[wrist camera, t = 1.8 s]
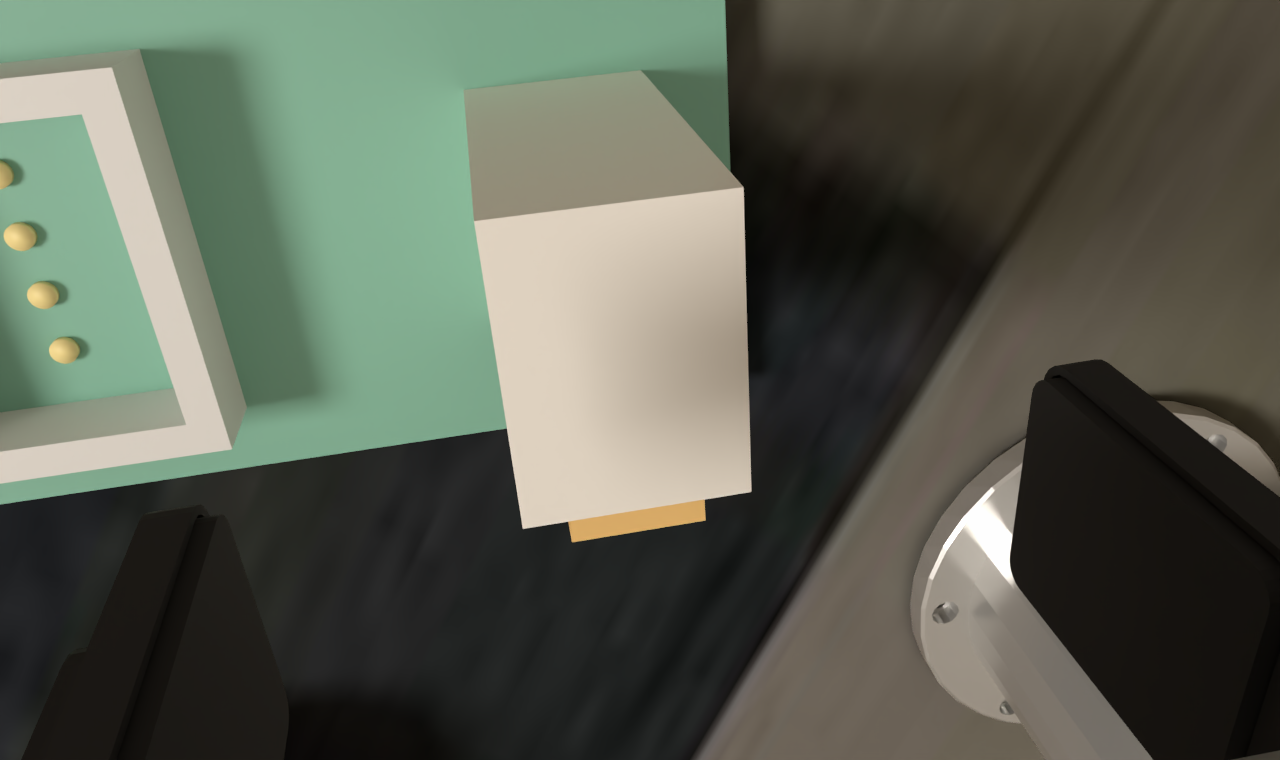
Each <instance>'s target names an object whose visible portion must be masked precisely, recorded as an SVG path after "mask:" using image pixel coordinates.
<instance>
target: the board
mask: <svg viewBox="0 0 1280 760" xmlns="http://www.w3.org/2000/svg"><path fill="white" fill-rule="evenodd" d="M638 70H641V71H642V72H643V73H644V74H645V75H646V77H647V78H648V79H649V80H650V81H651V82H652V83H653V85H654V86H655V87H656V88H657V89H658V90H659V91H660V93H661V94H662V95H663V96H664V97H665V98H666V99H667V100H668V102H669V103H670V104H671V105H672V106H673V107H674V108H675V110H676V111H677V112H678V113H679V114H680V115H681V116H682V118H683V119H684V120H685V121H686V122H687V123H688V124H689V126H690V127H691V128H692V129H693V130H694V131H695V132H696V133H697V135H698V136H699V137H700V138H701V139H702V140H703V141H704V143H705V144H706V145H707V146H708V147H709V148H710V149H711V151H712V152H713V153H714V154H715V155H716V156H717V157H718V159H719V160H720V161H721V162H722V163H723V164H724V165H725V167H726V168H727V169H728V170H729V171H730V142H729V111H728V79H727V47H726V15H725V0H0V504H6V503H13V502H19V501H26V500H33V499H39V498H46V497H53V496H59V495H66V494H73V493H79V492H86V491H93V490H99V489H106V488H113V487H119V486H126V485H133V484H139V483H146V482H153V481H159V480H166V479H172V478H179V477H186V476H192V475H199V474H206V473H212V472H219V471H226V470H232V469H239V468H246V467H252V466H259V465H266V464H272V463H279V462H286V461H292V460H299V459H306V458H312V457H319V456H326V455H332V454H339V453H346V452H352V451H359V450H366V449H372V448H379V447H386V446H392V445H399V444H406V443H412V442H419V441H425V440H432V439H439V438H445V437H452V436H459V435H465V434H472V433H479V432H485V431H492V430H499V429H505V428H507V425H506V419H505V413H504V407H503V400H502V394H501V388H500V381H499V375H498V369H497V363H496V356H495V350H494V344H493V338H492V331H491V325H490V319H489V312H488V306H487V300H486V294H485V287H484V281H483V275H482V269H481V262H480V256H479V250H478V244H477V237H476V231H475V225H474V216H473V203H472V190H471V178H470V165H469V153H468V140H467V127H466V115H465V102H464V90H467V89H476V88H485V87H494V86H503V85H512V84H521V83H530V82H539V81H548V80H557V79H566V78H575V77H584V76H593V75H602V74H611V73H620V72H629V71H638Z"/></svg>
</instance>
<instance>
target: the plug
mask: <svg viewBox="0 0 1280 760" xmlns="http://www.w3.org/2000/svg"><path fill="white" fill-rule="evenodd" d="M464 102H465V115H466V127H467V140H468V153H469V165H470V178H471V190H472V203H473V216H474V225H475V231H476V237H477V244H478V250H479V256H480V262H481V269H482V275H483V281H484V287H485V294H486V300H487V306H488V312H489V319H490V325H491V331H492V338H493V344H494V350H495V356H496V363H497V369H498V375H499V381H500V388H501V394H502V400H503V407H504V413H505V419H506V425H507V432H508V438H509V444H510V450H511V457H512V463H513V469H514V475H515V482H516V488H517V494H518V501H519V507H520V513H521V519H522V526H523V529H525V528H531V527H537V526H544V525H550V524H556V523H562V522H568V523H569V528H570V534H571V539H572V542H577V541H583V540H589V539H595V538H601V537H608V536H614V535H620V534H626V533H632V532H638V531H644V530H650V529H656V528H662V527H668V526H674V525H681V524H687V523H693V522H699V521H705V502H704V499H710V498H717V497H723V496H729V495H735V494H741V493H747V492H751V459H750V420H749V380H748V341H747V301H746V262H745V222H744V187H743V186H742V185H741V184H740V182H739V181H738V180H737V179H736V178H735V177H734V176H733V174H732V173H731V172H730V171H729V170H728V169H727V168H726V167H725V165H724V164H723V163H722V162H721V161H720V160H719V159H718V157H717V156H716V155H715V154H714V153H713V152H712V151H711V149H710V148H709V147H708V146H707V145H706V144H705V143H704V141H703V140H702V139H701V138H700V137H699V136H698V135H697V133H696V132H695V131H694V130H693V129H692V128H691V127H690V126H689V124H688V123H687V122H686V121H685V120H684V119H683V118H682V116H681V115H680V114H679V113H678V112H677V111H676V110H675V108H674V107H673V106H672V105H671V104H670V103H669V102H668V100H667V99H666V98H665V97H664V96H663V95H662V94H661V93H660V91H659V90H658V89H657V88H656V87H655V86H654V85H653V83H652V82H651V81H650V80H649V79H648V78H647V77H646V75H645V74H644V73H643V72H642V71H641V70H638V71H629V72H620V73H611V74H602V75H593V76H584V77H575V78H566V79H557V80H548V81H539V82H530V83H521V84H512V85H503V86H494V87H485V88H476V89H467V90H464Z"/></svg>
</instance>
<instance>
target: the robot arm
mask: <svg viewBox="0 0 1280 760" xmlns="http://www.w3.org/2000/svg"><path fill="white" fill-rule="evenodd" d="M910 611H911V620H912V629H913V634H914V637H915V639H916V642H917V644H918V647H919V649H920V652H921V654H922V657H923V658H924V660H925V661H926V663H927V665H928V666H929V668H930V669H931V671H932V673H933V674H934V676H935V677H936V679H937V681H938V683H939V684H940V685H941V686H942V687H943V688H944V689H945V690H946V691H947V692H948V693H949V694H950V695H951V696H952V697H953V698H954V699H955V700H956V701H958V702H960V703H961V704H963V705H965V706H966V707H968V708H970V709H972V710H973V711H975V712H977V713H979V714H981V715H984V716H987V717H990V718H993V719H996V720H1000V721H1004V722H1012V723H1021V724H1022V725H1023V726H1024V728H1025V729H1026V731H1027V732H1028V734H1029V735H1030V737H1031V739H1032V740H1033V742H1034V743H1035V745H1036V746H1037V748H1038V749H1039V751H1040V752H1041V754H1042V755H1043V757H1044V758H1045V760H1280V477H1279V474H1278V472H1277V469H1276V467H1275V464H1274V463H1273V462H1272V460H1271V459H1270V458H1269V457H1268V455H1267V454H1266V453H1265V452H1264V450H1263V449H1262V448H1261V447H1260V445H1259V444H1258V443H1257V442H1256V441H1254V440H1253V439H1252V438H1250V437H1249V436H1248V435H1246V434H1245V433H1244V432H1242V431H1241V430H1240V429H1239V428H1237V427H1236V426H1235V425H1233V424H1232V423H1231V422H1229V421H1227V420H1225V419H1223V418H1222V417H1220V416H1218V415H1216V414H1214V413H1212V412H1210V411H1208V410H1206V409H1204V408H1200V407H1196V406H1192V405H1187V404H1183V403H1179V402H1174V401H1156V400H1155V399H1154V398H1152V397H1151V396H1150V395H1148V394H1147V393H1146V392H1145V391H1143V390H1142V389H1141V388H1139V387H1138V386H1137V385H1136V384H1134V383H1133V382H1132V381H1130V380H1129V379H1128V378H1127V377H1125V376H1124V375H1123V374H1122V373H1120V372H1119V371H1118V370H1116V369H1115V368H1114V367H1113V366H1111V365H1110V364H1109V363H1107V362H1105V361H1103V360H1090V361H1083V362H1077V363H1071V364H1065V365H1059V366H1054V367H1052V368H1050V369H1049V370H1048V372H1047V373H1046V375H1045V378H1044V380H1041V381H1039V382H1037V383H1036V385H1035V386H1034V388H1033V392H1032V398H1031V405H1030V413H1029V420H1028V427H1027V434H1026V438H1025V439H1024V440H1022V441H1021V442H1019V443H1018V444H1016V445H1015V446H1013V447H1012V448H1011V449H1009V450H1008V451H1006V452H1005V453H1003V454H1002V455H1000V456H999V457H997V458H996V459H995V460H993V461H992V462H991V463H990V464H989V465H988V466H987V467H986V468H985V469H984V470H983V471H982V472H980V473H979V474H978V475H977V476H976V477H975V478H974V479H973V480H972V481H971V482H970V483H969V484H967V485H966V486H965V487H964V489H963V490H962V491H961V492H960V494H959V495H958V496H957V497H956V499H955V500H954V501H953V502H952V504H951V505H950V506H949V507H948V509H947V510H946V511H945V512H944V514H943V515H942V516H941V518H940V520H939V521H938V523H937V525H936V527H935V528H934V530H933V532H932V534H931V535H930V537H929V539H928V541H927V543H926V544H925V546H924V549H923V551H922V554H921V557H920V560H919V563H918V566H917V569H916V572H915V574H914V578H913V586H912V594H911V601H910ZM288 728H289V708H288V700H287V695H286V691H285V688H284V685H283V682H282V679H281V676H280V673H279V670H278V667H277V665H276V662H275V659H274V656H273V653H272V650H271V647H270V644H269V641H268V638H267V635H266V632H265V629H264V626H263V623H262V620H261V617H260V614H259V611H258V608H257V605H256V602H255V599H254V596H253V593H252V590H251V587H250V585H249V582H248V579H247V576H246V573H245V570H244V567H243V564H242V561H241V558H240V555H239V552H238V549H237V546H236V543H235V540H234V537H233V534H232V531H231V528H230V525H229V523H228V521H227V519H226V518H225V516H224V515H222V514H220V515H214V516H209V514H208V512H207V510H206V509H205V508H204V506H202V505H200V504H199V505H193V506H186V507H180V508H174V509H168V510H162V511H155V512H149V513H146V514H144V515H143V516H142V518H141V519H140V521H139V523H138V526H137V528H136V531H135V533H134V536H133V538H132V540H131V543H130V545H129V548H128V550H127V553H126V555H125V558H124V560H123V562H122V565H121V567H120V570H119V572H118V575H117V577H116V580H115V582H114V584H113V587H112V589H111V592H110V594H109V597H108V599H107V602H106V604H105V606H104V609H103V611H102V614H101V616H100V619H99V621H98V624H97V626H96V628H95V631H94V633H93V636H92V638H91V641H90V643H89V645H88V647H86V648H81V649H77V650H75V651H74V652H72V653H71V654H69V655H68V657H67V659H66V660H65V662H64V663H63V665H62V667H61V669H60V671H59V674H58V676H57V678H56V681H55V683H54V685H53V688H52V690H51V692H50V695H49V697H48V699H47V702H46V704H45V706H44V709H43V711H42V713H41V715H40V718H39V720H38V722H37V725H36V727H35V729H34V732H33V734H32V736H31V739H30V741H29V743H28V746H27V748H26V750H25V753H24V755H23V757H22V760H284V755H285V748H286V741H287V735H288Z"/></svg>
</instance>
